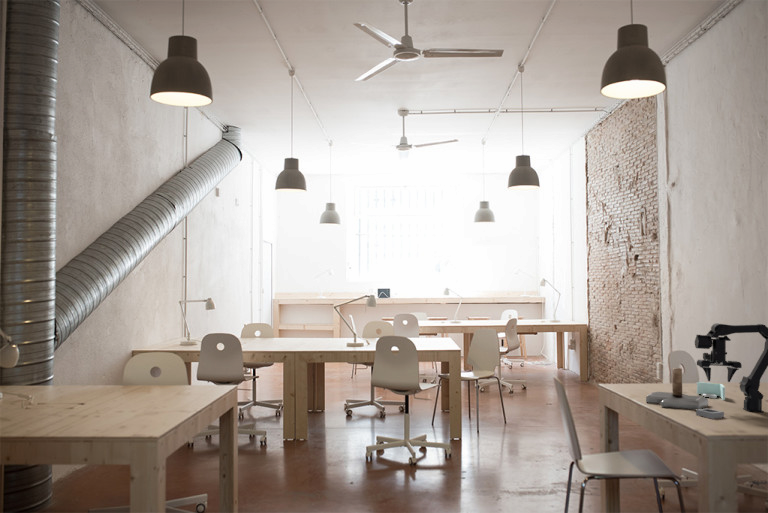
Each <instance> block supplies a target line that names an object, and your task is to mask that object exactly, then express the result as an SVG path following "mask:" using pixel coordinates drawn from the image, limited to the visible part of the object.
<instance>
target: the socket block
mask: <svg viewBox="0 0 768 513" xmlns="http://www.w3.org/2000/svg"><path fill="white" fill-rule="evenodd" d="M695 415H696V416H698V415H699V417H702V416H703V418H706V417H707V419H712V420H715V418H716V419H723V418H722V417H724V418H725V411H722V410H716V409H712V408H708V407H705V408H703V409H697V410H695Z"/></svg>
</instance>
